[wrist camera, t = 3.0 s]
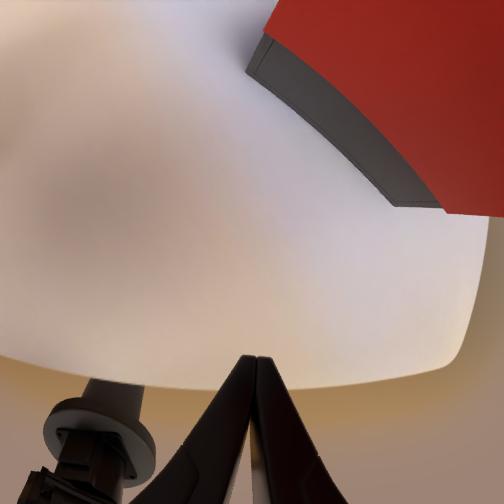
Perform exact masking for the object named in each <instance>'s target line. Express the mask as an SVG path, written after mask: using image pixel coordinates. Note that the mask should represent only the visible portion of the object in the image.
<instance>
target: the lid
mask: <svg viewBox="0 0 504 504" xmlns="http://www.w3.org/2000/svg"><path fill="white" fill-rule="evenodd" d="M263 31H264V32H265V33H266V34H268V35H269V36H271V37H272V38H274V39H275V40H276V41H278V42H279V43H281V44H282V45H283V46H285V47H286V48H287V49H289V50H290V51H291V52H293V53H294V54H295V55H297V56H298V57H299V58H300V59H302V60H303V61H304V62H305V63H307V64H308V65H309V66H310V67H312V68H313V69H314V70H315V71H316V72H318V73H319V74H320V75H321V76H322V77H324V78H325V79H326V80H327V81H328V82H329V83H330V84H332V85H333V86H334V87H335V88H336V89H337V90H338V91H339V92H341V93H342V94H343V95H344V96H345V97H346V98H347V99H348V100H349V101H350V102H351V103H352V104H353V105H354V106H355V107H356V108H358V109H359V110H360V111H361V112H362V113H363V114H364V115H365V116H366V117H367V118H368V119H369V120H370V121H371V122H372V123H373V125H374V126H375V127H376V128H377V129H378V130H379V131H380V132H381V133H382V134H383V135H384V136H385V137H386V138H387V139H388V140H389V142H390V143H391V144H392V145H393V146H394V147H395V148H396V149H397V151H398V152H399V153H400V154H401V155H402V156H403V157H404V159H405V160H406V161H407V162H408V163H409V165H410V166H411V167H412V168H413V169H414V171H415V172H416V173H417V174H418V176H419V177H420V178H421V179H422V181H423V182H424V183H425V184H426V186H427V187H428V188H429V190H430V191H431V192H432V194H433V195H434V196H435V198H436V199H437V200H438V202H439V203H440V204H441V206H442V207H443V209H444V210H445V211H446V213H447V214H463V215H478V216H493V217H504V0H279V1H278V3H277V5H276V7H275V9H274V11H273V13H272V14H271V16H270V18H269V20H268V22H267V24H266V26H265V28H264V30H263Z"/></svg>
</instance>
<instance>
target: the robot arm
mask: <svg viewBox="0 0 504 504" xmlns="http://www.w3.org/2000/svg"><path fill="white" fill-rule="evenodd" d="M249 422H250V447H251V448H250V449H251V470H252V491H253V504H348V503H347V501H346V500H345V498H344V497H343V496H342V494H341V493H340V491H339V490H338V488H337V487H336V485H335V484H334V482H333V480H332V478H331V477H330V475H329V473H328V471H327V470H326V468H325V466H324V464H323V462H322V460H321V458H320V456H318V452H317V450H316V448H315V446H314V444H313V442H312V440H311V438H310V436H309V434H308V432H307V430H306V428H305V426H304V424H303V422H302V420H301V418H300V416H299V413H298V412H297V409H296V407H295V405H294V403H293V401H292V399H291V397H290V395H289V393H288V391H287V388H286V386H285V384H284V382H283V380H282V378H281V376H280V374H279V372H278V369H277V367H276V365H275V363H274V361H273V359H272V358H271V357H264V356H258V357H257V358H256V356H253V355H242V356H241V357H240V359H239V360H238V362H237V363H236V365H235V366H234V368H233V370H232V371H231V373H230V374H229V376H228V377H227V379H226V380H225V382H224V383H223V385H222V386H221V388H220V389H219V391H218V392H217V394H216V395H215V397H214V398H213V400H212V402H211V403H210V404H209V406H208V408H207V409H206V410H205V412H204V413H203V415H202V416H201V418H200V419H199V421H198V422H197V424H196V425H195V426H194V428H193V429H192V431H191V432H190V434H189V435H188V436H187V438H186V439H185V441H184V442H183V445H181V446H180V448H179V449H178V450H177V452H176V453H175V455H174V456H173V457H172V459H171V460H170V461H169V462H168V464H167V465H166V466H165V467H164V469H163V470H162V471H161V472H160V473H159V474H158V475H157V476H156V477H155V479H154V480H153V481H152V482H151V483H150V484H149V485H148V486H147V487H146V488H145V489H144V490H143V491H142V492H140V493H139V494H138V495H137V496H136V497H135V498H134V499H133V500H132V501H131V502H130V503H129V504H229V501H230V497H231V494H232V490H233V486H234V482H235V478H236V475H237V471H238V467H239V463H240V459H241V456H242V452H243V448H244V444H245V440H246V436H247V431H248V427H249ZM55 434H56V436H57V438H58V440H59V442H60V444H61V446H62V449H61V452H60V454H59V457H58V464H57V466H56V469H55V472H54V473H52V472H50V471H48V469H47V468H45V467H44V466H42V469H41V471H40V472H39V471H37V472H35V471H31V473H30V475H29V477H28V480H27V482H26V484H25V486H24V489H23V490H22V493H21V495H20V497H19V499H18V502H17V504H121V503H122V494H123V486H124V480H136V479H137V476H138V475H137V472H136V470H135V468H134V466H133V464H132V461H131V459H130V457H129V455H128V452H127V450H126V447H125V445H124V442H123V440H122V437H121V435H120V434H119V433H117V432H103V431H87V430H75V429H66V428H57V429H56V431H55ZM114 437H116V438H114Z"/></svg>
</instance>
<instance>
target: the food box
mask: <svg viewBox="0 0 504 504" xmlns="http://www.w3.org/2000/svg"><path fill="white" fill-rule="evenodd" d="M245 73H247V74H248V75H249V76H251V77H252V78H253V79H255V80H256V81H258V82H259V83H260V84H262V85H263V86H264V87H265V88H267V89H268V90H269V91H271V92H272V93H273V94H275V95H276V96H277V97H278V98H280V99H281V100H282V101H283V102H285V103H286V104H287V105H288V106H289V107H291V108H292V109H293V110H294V111H296V112H297V113H298V114H299V115H300V116H302V117H303V118H304V119H305V120H306V121H307V122H309V123H310V124H311V125H312V126H313V127H314V128H315V129H317V130H318V131H319V132H320V133H321V134H322V135H323V136H324V137H325V138H327V139H328V140H329V141H330V142H331V143H332V144H333V145H334V146H335V147H336V148H337V149H338V150H339V151H341V152H342V153H343V154H344V155H345V156H346V157H347V158H348V159H349V160H350V161H351V162H352V163H353V164H354V165H355V166H356V167H357V168H358V169H359V170H360V171H361V172H362V173H363V174H364V175H365V176H366V177H367V178H368V179H369V180H370V181H371V182H372V183H373V184H374V185H375V186H376V187H377V189H378V190H379V191H380V192H381V193H382V194H383V195H384V196H385V197H386V198H387V199H388V200H389V201H390V203H391V204H392V205H393V206H394V207H423V208H443V207H442V206H441V204H440V203H439V202H438V200H437V199H436V198H435V196H434V195H433V194H432V192H431V191H430V190H429V188H428V187H427V186H426V184H425V183H424V182H423V181H422V179H421V178H420V177H419V176H418V174H417V173H416V172H415V171H414V169H413V168H412V167H411V166H410V165H409V163H408V162H407V161H406V160H405V159H404V157H403V156H402V155H401V154H400V153H399V152H398V151H397V149H396V148H395V147H394V146H393V145H392V144H391V143H390V142H389V140H388V139H387V138H386V137H385V136H384V135H383V134H382V133H381V132H380V131H379V130H378V129H377V128H376V127H375V126H374V125H373V123H372V122H371V121H370V120H369V119H368V118H367V117H366V116H365V115H364V114H363V113H362V112H361V111H360V110H359V109H358V108H356V107H355V106H354V105H353V104H352V103H351V102H350V101H349V100H348V99H347V98H346V97H345V96H344V95H343V94H342V93H341V92H339V91H338V90H337V89H336V88H335V87H334V86H333V85H332V84H330V83H329V82H328V81H327V80H326V79H325V78H324V77H322V76H321V75H320V74H319V73H318V72H316V71H315V70H314V69H313V68H312V67H310V66H309V65H308V64H307V63H305V62H304V61H303V60H302V59H300V58H299V57H298V56H297V55H295V54H294V53H293V52H291V51H290V50H289V49H287V48H286V47H285V46H283V45H282V44H281V43H279V42H278V41H276V40H275V39H274V38H272V37H271V36H269V35H268V34H266V33H264V35H263V37H262V39H261V40H260V42H259V44H258V46H257V48H256V50H255V52H254V54H253V56H252V59H251V61H250V63H249V65H248V67H247V69H246V71H245Z"/></svg>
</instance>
